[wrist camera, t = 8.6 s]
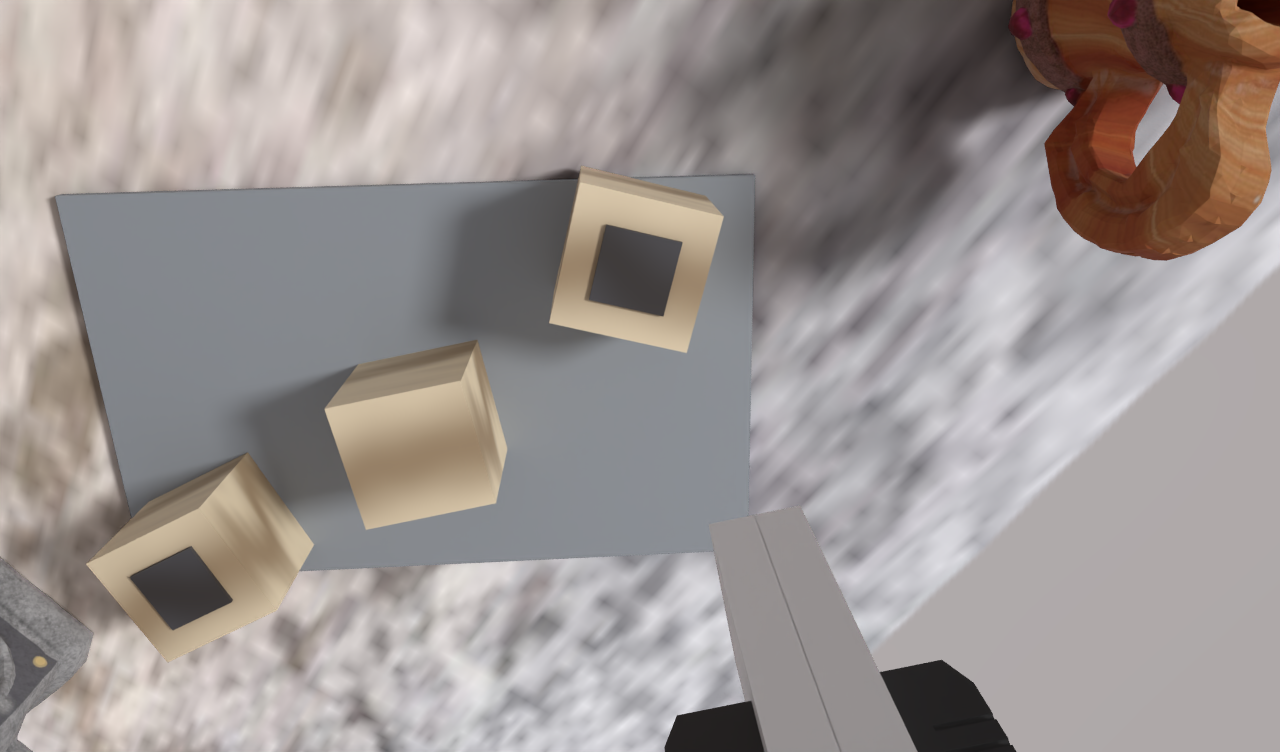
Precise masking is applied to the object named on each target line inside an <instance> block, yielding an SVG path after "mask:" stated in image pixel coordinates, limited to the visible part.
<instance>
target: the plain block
mask: <svg viewBox="0 0 1280 752" xmlns="http://www.w3.org/2000/svg"><path fill="white" fill-rule="evenodd" d="M324 410H325V412H326V415H327V418H328V421H329V424H330V427H331V430H332V433H333V436H334V439H335V441H336V444H337V447H338V450H339V453H340V456H341V459H342V462H343V465H344V468H345V470H346V473H347V476H348V479H349V482H350V485H351V488H352V491H353V494H354V497H355V499H356V502H357V505H358V508H359V511H360V514H361V517H362V520H363V523H364V526H365V528H366V530H368V529H373V528H378V527H383V526H388V525H392V524H397V523H402V522H407V521H412V520H417V519H422V518H427V517H431V516H436V515H441V514H446V513H451V512H456V511H461V510H466V509H471V508H475V507H480V506H485V505H490V504H495V503H496V501H497V496H498V491H499V487H500V482H501V477H502V472H503V468H504V463H505V458H506V454H507V445H506V442H505V438H504V434H503V431H502V427H501V424H500V420H499V416H498V413H497V409H496V405H495V402H494V398H493V394H492V391H491V387H490V383H489V380H488V376H487V372H486V369H485V365H484V361H483V358H482V354H481V351H480V347H479V343H478V340H473V341H468V342H463V343H458V344H454V345H449V346H444V347H439V348H434V349H430V350H425V351H420V352H415V353H410V354H405V355H401V356H396V357H391V358H386V359H381V360H377V361H372V362H367V363H362V364H358V365H357V367H356V368H355V369H354V371H353V372H352V373H351V375H350V376H349V377H348V378H347V380H346V381H345V382H344V384H343V385H342V386H341V388H340V389H339V390H338V392H337V393H336V394H335V395H334V397H333V398H332V399H331V401H330V402H329V403H328V405H327V406H326V407H325V409H324Z"/></svg>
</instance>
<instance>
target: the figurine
mask: <svg viewBox="0 0 1280 752" xmlns="http://www.w3.org/2000/svg"><path fill="white" fill-rule="evenodd" d="M92 636H93V632H91V631H90V630H89V629H88V628H86V627H85V626H84V625H83V624H82V623H80V622H79V621H78V620H77V619H75V618H74V617H73V616H72V615H70V614H69V613H68V612H66V611H65V610H64V609H62V608H61V607H60V606H59V605H58V604H57V603H55V602H54V601H53V600H52V599H51V598H50V597H49V596H47V595H46V594H45V593H43V592H42V591H40V590H39V589H38V588H36V587H35V586H34V585H33V584H31V583H30V582H29V581H28V580H26V579H25V578H24V577H23V576H22V575H20V574H19V573H18V572H17V571H16V570H15V569H13V568H12V567H11V566H10V565H9V564H8V563H6V562H5V561H4V560H3V559H2V558H0V752H33V751H31V750H30V749H29V748H28V747H26V746H25V745H24V744H23V743H21V742H20V741H18V740H17V735H18V733H19V730H20V728H21V725H22V723H23V720H24V718H25V716H26V714H27V713H28V712H29V711H30V710H31V709H33V708H34V707H36V706H37V705H38V704H40V703H41V702H42V701H44V700H45V699H46V698H47V697H49V696H50V695H51V694H52V693H54V692H55V691H56V690H57V689H59V688H60V687H61V686H62V685H63V684H65V683H66V682H67V681H68V680H69V679H70V678H71V677H72V676H73V675H74V674H75V673H76V672H77V670H78V669H79V668H80V667H81V666H82V665H83V664H84V663H85V662H86V660H87V656H88V653H89V649H90V645H91V641H92Z"/></svg>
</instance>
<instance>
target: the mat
mask: <svg viewBox="0 0 1280 752" xmlns="http://www.w3.org/2000/svg"><path fill="white" fill-rule="evenodd" d="M630 178H634V179H638V180H642V181H647V182H651V183H655V184H659V185H663V186H667V187H671V188H676V189H680V190H684V191H688V192H692V193H696V194H700V195H705V196H706V197H707V198H708V199H709V200H710V201H711V202H712V203H713V205H714V206H715V207H716V208H717V209H718V210H719V211H720V213H721V214H722V215H723V216H724V218H723V221H722V225H721V229H720V232H719V236H718V240H717V244H716V247H715V251H714V255H713V258H712V262H711V266H710V269H709V273H708V277H707V280H706V284H705V288H704V291H703V295H702V299H701V302H700V306H699V310H698V313H697V317H696V321H695V324H694V328H693V332H692V335H691V339H690V343H689V346H688V350H687V353H684V352H680V351H675V350H671V349H666V348H661V347H657V346H652V345H648V344H643V343H638V342H634V341H629V340H625V339H620V338H615V337H611V336H606V335H602V334H597V333H592V332H588V331H583V330H579V329H574V328H569V327H565V326H560V325H556V324H551V323H549V321H550V314H551V308H552V301H553V295H554V288H555V284H556V279H557V275H558V270H559V265H560V261H561V256H562V252H563V247H564V242H565V238H566V233H567V229H568V224H569V220H570V215H571V210H572V206H573V201H574V197H575V192H576V187H577V183H578V179H562V180H528V181H494V182H460V183H426V184H392V185H358V186H324V187H290V188H256V189H222V190H188V191H154V192H120V193H86V194H61V195H57V196H55V198H56V202H57V207H58V211H59V215H60V219H61V223H62V228H63V232H64V236H65V240H66V245H67V249H68V253H69V257H70V261H71V266H72V270H73V274H74V278H75V282H76V287H77V291H78V295H79V299H80V304H81V308H82V312H83V316H84V320H85V325H86V329H87V333H88V337H89V341H90V346H91V350H92V354H93V358H94V362H95V367H96V371H97V375H98V379H99V384H100V388H101V392H102V396H103V400H104V405H105V409H106V413H107V417H108V421H109V426H110V430H111V434H112V438H113V443H114V447H115V451H116V455H117V459H118V464H119V468H120V472H121V476H122V480H123V485H124V489H125V493H126V497H127V501H128V506H129V510H130V514H131V518H133V517H134V516H135V515H136V514H137V513H138V512H139V511H140V510H141V509H142V508H143V507H144V506H145V505H146V504H147V503H148V502H149V501H151V500H153V499H155V498H157V497H159V496H161V495H163V494H165V493H167V492H169V491H171V490H173V489H175V488H177V487H179V486H181V485H183V484H185V483H187V482H189V481H191V480H193V479H195V478H197V477H199V476H201V475H203V474H205V473H207V472H209V471H211V470H213V469H215V468H217V467H219V466H221V465H223V464H225V463H227V462H229V461H231V460H233V459H235V458H237V457H239V456H241V455H243V454H245V453H247V452H248V453H249V455H250V456H251V457H252V459H253V460H254V462H255V463H256V464H257V466H258V467H259V469H260V470H261V471H262V473H263V474H264V476H265V477H266V478H267V480H268V481H269V482H270V484H271V485H272V487H273V488H274V489H275V491H276V492H277V494H278V495H279V496H280V498H281V499H282V501H283V502H284V503H285V505H286V506H287V508H288V509H289V510H290V512H291V513H292V514H293V516H294V517H295V519H296V520H297V521H298V523H299V524H300V526H301V527H302V528H303V530H304V531H305V533H306V534H307V535H308V537H309V538H310V540H311V541H312V542H313V544H314V546H313V548H312V549H311V551H310V553H309V555H308V556H307V558H306V560H305V562H304V563H303V565H302V567H301V569H300V570H299V571H314V570H335V569H356V568H377V567H398V566H419V565H440V564H461V563H482V562H503V561H524V560H545V559H566V558H587V557H607V556H628V555H649V554H670V553H691V552H712V551H714V549H713V544H712V539H711V534H710V529H709V524H712V523H717V522H722V521H727V520H732V519H737V518H742V517H746V516H748V507H749V457H750V407H751V357H752V307H753V257H754V207H755V175H754V174H732V175H698V176H664V177H630ZM473 340H478V343H479V347H480V351H481V354H482V358H483V361H484V365H485V369H486V372H487V376H488V380H489V383H490V387H491V391H492V394H493V398H494V402H495V405H496V409H497V413H498V416H499V420H500V424H501V427H502V431H503V434H504V438H505V442H506V445H507V454H506V458H505V463H504V468H503V472H502V477H501V482H500V487H499V491H498V496H497V501H496V503H495V504H490V505H485V506H480V507H475V508H471V509H466V510H461V511H456V512H451V513H446V514H441V515H436V516H431V517H427V518H422V519H417V520H412V521H407V522H402V523H397V524H392V525H388V526H383V527H378V528H373V529H368V530H366V528H365V526H364V523H363V520H362V517H361V514H360V511H359V508H358V505H357V502H356V499H355V497H354V494H353V491H352V488H351V485H350V482H349V479H348V476H347V473H346V470H345V468H344V465H343V462H342V459H341V456H340V453H339V450H338V447H337V444H336V441H335V439H334V436H333V433H332V430H331V427H330V424H329V421H328V418H327V415H326V412H325V410H324V409H325V407H326V406H327V405H328V403H329V402H330V401H331V399H332V398H333V397H334V395H335V394H336V393H337V392H338V390H339V389H340V388H341V386H342V385H343V384H344V382H345V381H346V380H347V378H348V377H349V376H350V375H351V373H352V372H353V371H354V369H355V368H356V367H357V365H358V364H362V363H367V362H372V361H377V360H381V359H386V358H391V357H396V356H401V355H405V354H410V353H415V352H420V351H425V350H430V349H434V348H439V347H444V346H449V345H454V344H458V343H463V342H468V341H473Z"/></svg>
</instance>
